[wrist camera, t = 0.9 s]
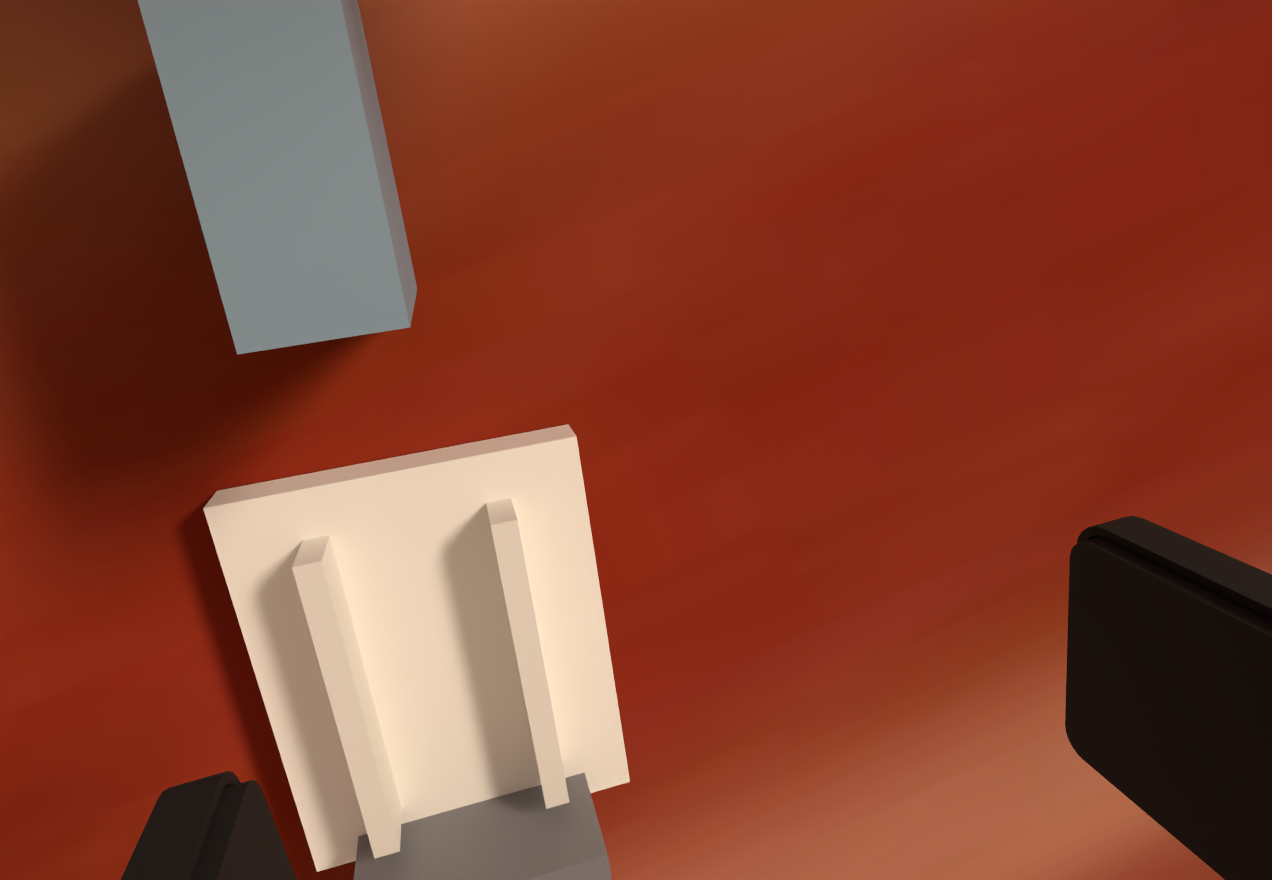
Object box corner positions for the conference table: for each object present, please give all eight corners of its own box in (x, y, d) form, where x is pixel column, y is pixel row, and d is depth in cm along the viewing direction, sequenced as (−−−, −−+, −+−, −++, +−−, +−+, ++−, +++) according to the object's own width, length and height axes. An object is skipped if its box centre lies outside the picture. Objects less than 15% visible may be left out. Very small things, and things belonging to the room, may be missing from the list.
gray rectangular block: (237, 12, 27) (97, -141, 15) (358, 2, 27) (308, -148, 16) (309, 304, 30) (237, 354, 18) (417, 288, 30) (410, 327, 19)
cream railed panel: (216, 491, 30) (159, 564, 24) (568, 424, 33) (601, 473, 27) (322, 837, 36) (298, 976, 29) (620, 754, 38) (659, 863, 32)
